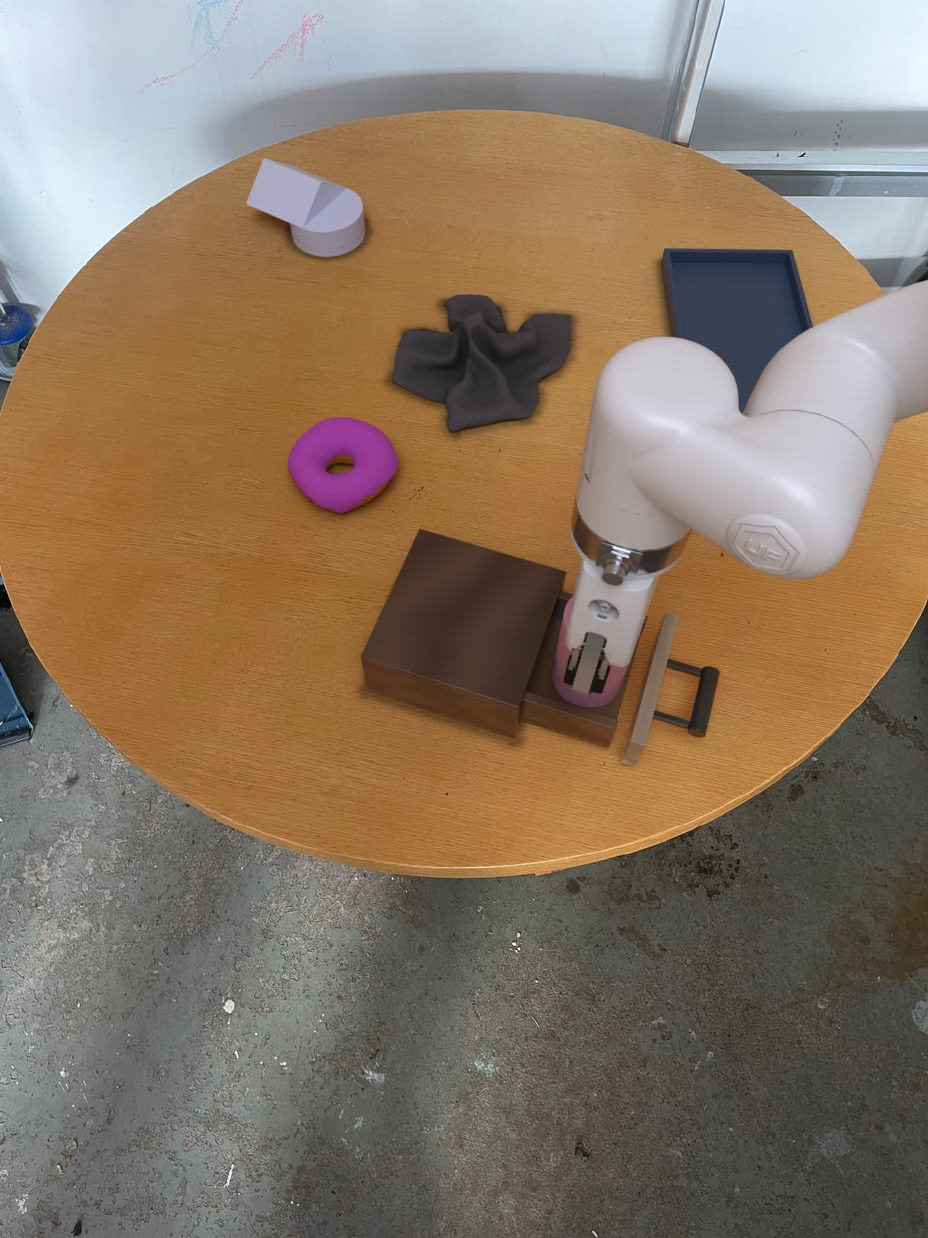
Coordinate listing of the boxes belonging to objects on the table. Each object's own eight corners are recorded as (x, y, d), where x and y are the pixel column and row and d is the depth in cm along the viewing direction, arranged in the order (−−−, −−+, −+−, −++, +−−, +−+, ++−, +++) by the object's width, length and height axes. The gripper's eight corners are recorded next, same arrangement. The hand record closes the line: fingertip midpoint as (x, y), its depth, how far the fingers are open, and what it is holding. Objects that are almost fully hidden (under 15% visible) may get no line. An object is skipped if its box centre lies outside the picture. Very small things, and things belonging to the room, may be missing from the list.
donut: (277, 467, 88) (268, 437, 84) (361, 423, 91) (357, 392, 87) (329, 535, 84) (323, 506, 80) (416, 487, 87) (414, 457, 83)
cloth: (486, 457, 89) (488, 415, 84) (356, 371, 95) (350, 327, 90) (612, 340, 98) (621, 295, 92) (485, 268, 104) (487, 222, 98)
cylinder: (629, 657, 76) (650, 598, 67) (611, 717, 73) (632, 663, 64) (563, 637, 77) (575, 576, 68) (543, 695, 74) (554, 639, 65)
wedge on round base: (251, 228, 107) (336, 266, 104) (239, 177, 101) (329, 215, 98) (296, 190, 111) (379, 225, 107) (287, 138, 105) (375, 174, 102)
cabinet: (559, 609, 80) (566, 571, 75) (514, 739, 74) (519, 708, 68) (422, 568, 82) (419, 527, 77) (367, 691, 76) (360, 656, 70)
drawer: (717, 657, 77) (732, 631, 73) (688, 784, 71) (702, 764, 67) (534, 602, 80) (538, 574, 75) (491, 720, 74) (493, 697, 70)
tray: (839, 467, 89) (847, 453, 87) (690, 465, 89) (695, 451, 87) (786, 264, 104) (792, 249, 102) (660, 262, 104) (664, 247, 102)
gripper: (658, 649, 50) (612, 759, 66) (716, 435, 58) (663, 578, 74) (535, 612, 51) (518, 729, 67) (608, 407, 59) (578, 554, 75)
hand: (594, 649), depth 70 cm, fingers closed on cylinder, 6 cm apart
